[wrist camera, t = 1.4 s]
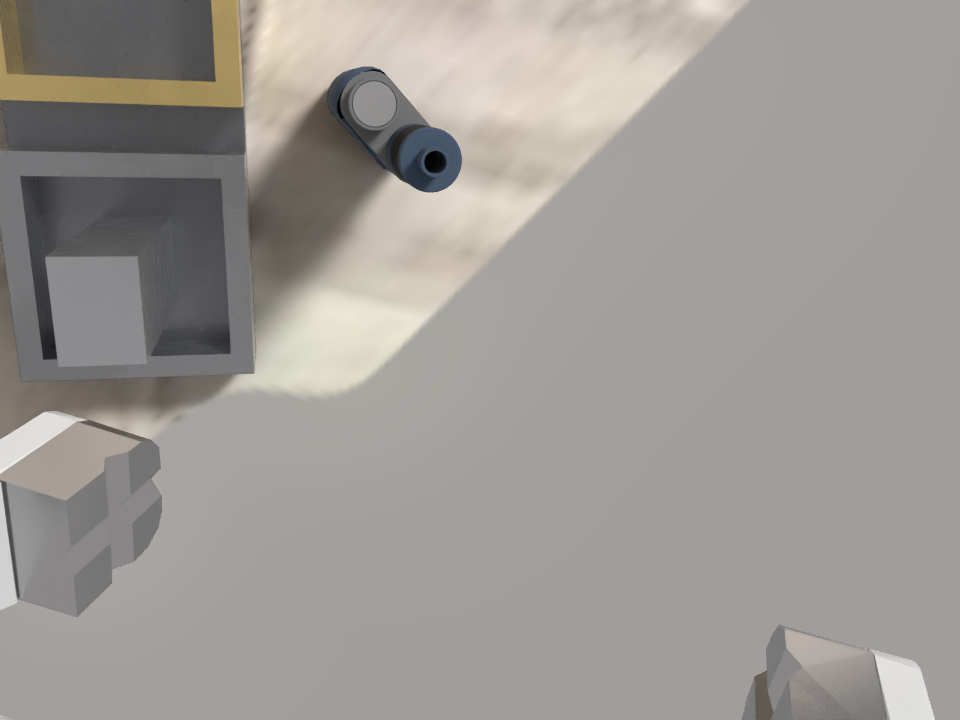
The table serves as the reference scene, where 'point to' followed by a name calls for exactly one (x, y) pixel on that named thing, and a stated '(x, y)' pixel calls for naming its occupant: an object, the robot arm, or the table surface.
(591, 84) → the table surface
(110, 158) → the double square tray
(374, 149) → the vaping device
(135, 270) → the block
